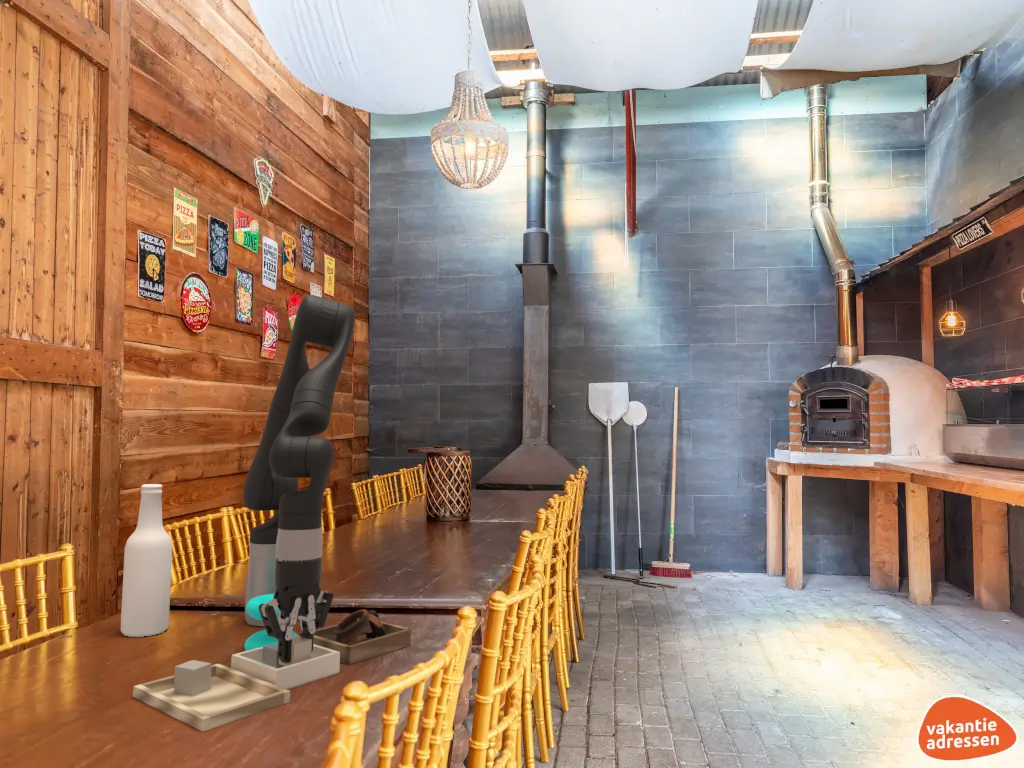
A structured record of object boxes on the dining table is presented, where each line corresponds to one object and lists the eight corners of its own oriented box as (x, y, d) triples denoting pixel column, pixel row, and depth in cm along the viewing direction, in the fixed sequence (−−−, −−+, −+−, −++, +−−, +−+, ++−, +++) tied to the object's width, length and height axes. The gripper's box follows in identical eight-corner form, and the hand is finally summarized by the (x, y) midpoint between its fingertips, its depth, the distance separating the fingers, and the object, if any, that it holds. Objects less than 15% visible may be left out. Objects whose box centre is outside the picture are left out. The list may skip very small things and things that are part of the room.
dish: (230, 679, 120) (231, 654, 120) (294, 660, 130) (295, 638, 130) (275, 697, 112) (276, 670, 112) (339, 675, 122) (340, 652, 122)
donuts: (305, 601, 133) (247, 606, 129) (303, 656, 132) (245, 662, 128) (298, 590, 142) (245, 594, 138) (296, 641, 141) (243, 646, 137)
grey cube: (262, 670, 122) (263, 646, 122) (280, 664, 125) (280, 641, 125) (275, 675, 119) (276, 650, 120) (293, 669, 122) (294, 646, 123)
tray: (132, 700, 109) (133, 686, 110) (217, 676, 121) (218, 663, 121) (202, 735, 97) (203, 719, 98) (289, 705, 108) (290, 690, 109)
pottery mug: (387, 659, 133) (365, 622, 132) (343, 678, 134) (321, 642, 133) (400, 625, 145) (380, 591, 144) (359, 643, 146) (340, 610, 145)
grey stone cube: (173, 692, 111) (174, 666, 112) (191, 685, 115) (192, 659, 115) (193, 696, 110) (194, 669, 110) (210, 689, 113) (211, 663, 113)
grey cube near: (278, 663, 119) (279, 639, 120) (296, 658, 122) (297, 635, 122) (293, 669, 117) (294, 644, 117) (310, 663, 120) (311, 639, 120)
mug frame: (300, 649, 136) (300, 633, 136) (364, 631, 149) (364, 617, 149) (348, 665, 128) (348, 647, 128) (412, 644, 140) (412, 629, 141)
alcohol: (126, 640, 140) (134, 486, 142) (115, 630, 147) (123, 484, 149) (174, 632, 146) (180, 485, 148) (161, 623, 153) (168, 482, 155)
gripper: (319, 547, 128) (316, 645, 127) (248, 557, 117) (244, 664, 116) (346, 552, 124) (343, 653, 123) (276, 563, 113) (271, 674, 112)
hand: (295, 658), depth 119 cm, fingers closed on grey cube near, 3 cm apart
